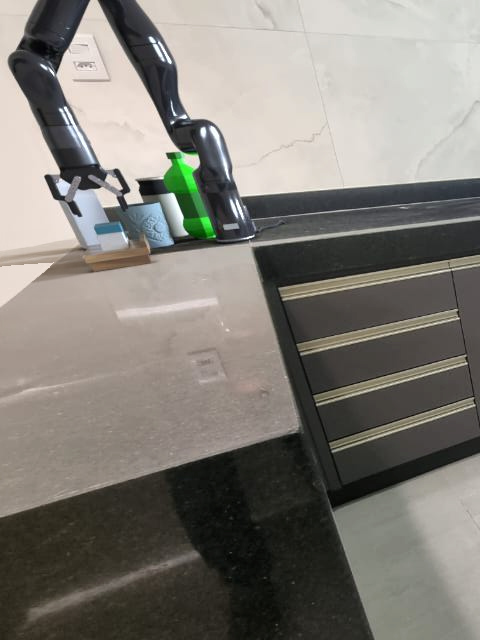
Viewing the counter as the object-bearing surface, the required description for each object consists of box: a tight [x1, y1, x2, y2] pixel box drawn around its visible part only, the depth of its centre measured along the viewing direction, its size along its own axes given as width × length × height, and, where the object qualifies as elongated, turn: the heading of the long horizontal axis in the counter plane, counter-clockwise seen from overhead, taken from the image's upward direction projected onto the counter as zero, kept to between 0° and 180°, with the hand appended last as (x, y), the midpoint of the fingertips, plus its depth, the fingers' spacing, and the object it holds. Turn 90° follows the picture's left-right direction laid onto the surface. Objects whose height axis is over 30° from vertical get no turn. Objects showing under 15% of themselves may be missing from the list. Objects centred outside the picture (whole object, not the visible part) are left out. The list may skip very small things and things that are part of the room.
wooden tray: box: [82, 232, 153, 273], centre depth 137 cm, size 18×12×6 cm, turn 41°
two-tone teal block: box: [94, 220, 130, 252], centre depth 135 cm, size 12×5×6 cm, turn 42°
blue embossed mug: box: [114, 202, 175, 249], centre depth 154 cm, size 10×10×12 cm
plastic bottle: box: [163, 151, 216, 240], centre depth 161 cm, size 10×10×25 cm
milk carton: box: [56, 180, 110, 250], centre depth 155 cm, size 7×7×19 cm
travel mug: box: [134, 175, 190, 239], centre depth 166 cm, size 8×8×18 cm
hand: (103, 214), depth 135 cm, fingers open, 8 cm apart
